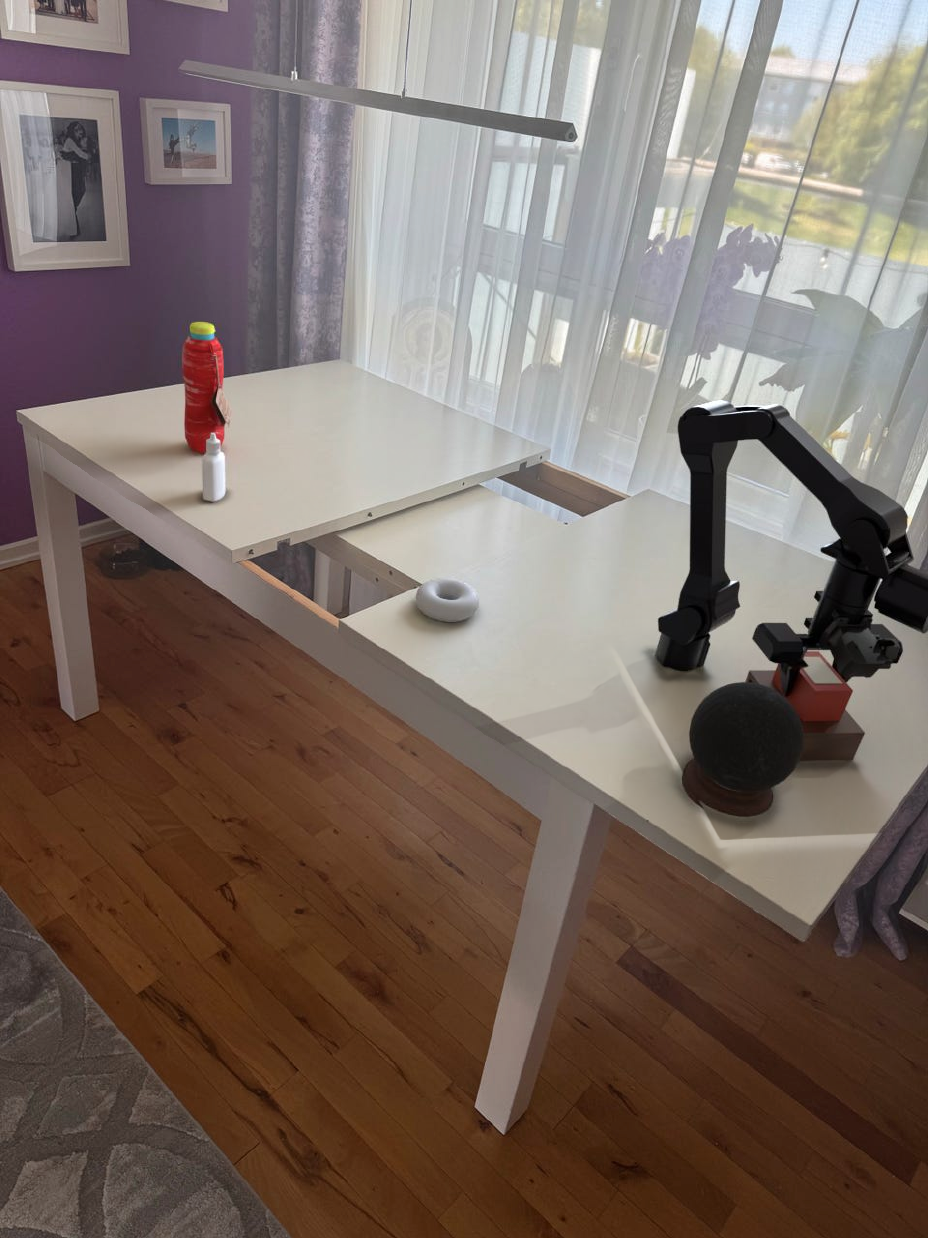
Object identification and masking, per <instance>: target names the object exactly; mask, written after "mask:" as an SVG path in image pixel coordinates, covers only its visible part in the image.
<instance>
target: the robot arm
mask: <svg viewBox="0 0 928 1238" xmlns="http://www.w3.org/2000/svg"><path fill="white" fill-rule="evenodd" d="M677 436H678V437H677V438H678V443H679V444H678V445H679V449H680V450H679V451H680V454H681V456H682V458H683V461H684V462H685V464H686V466H687V468H688V469H689V475H690V476H689V479H690V480H689V481H690V482H689V569H688V574H687V576H686V578H685V580H684V583H683V585H682V588H681V590H680V592H679V595H678V603H677V607H676V608H675V609H673V610H671V611H669V612H667V613H665V614H663V615H661V616H660V617H658V618H657V626H658V627H657V629H658V632H659V633H660V636H659V638H658V639H659V640H658V643H657V647H656V649H655V654H654V655H655V657H656V659H657V660H658V662H659V664H660V666H661V667H662V668H669V669H671V670H674V671H678V672H684V673H685V672H691V671H694V670H695V669H697V668H701V667H703V666H704V665H705V663H706V660H707V656H708V654H709V651H710V647H711V642H710V639H711V634H710V633H711V632H713V631H714V630H716V629H718V628H720V627H722V626H723V625H725V624H727V623H728V622H729V621H731V620H732V619H733V618H734V617H735V615H736V611H737V610H738V609H739V608H741V604H740V601H739V593H740V586H741V583H740V581H739V580H731V579H730V577H729V574H728V573H727V571H726V525H727V524H726V523H727V484H728V483H727V482H728V481H727V480H728V479H727V478H728V468H729V465H730V463H731V461H732V459H733V456H734V455H735V452H736V450H737V448H738V443H739V441H740V442H741V441H750V440H751V441H752V440H753V441H754V440H755V441H756V440H757V441H758V442H760V443H761V444H762V445H763V446H764V447H765V448H766V449H767V450H768V451H769V452H770V453H771V454H772V455H773V456H774V457H775V458H776V459H777V460H778V461H779V462H780V464H782V465H783V466H784V467H785V468H786V469H787V470H788V471H789V472H790V474H792V475H793V476H794V478H796V479H797V480H798V481H799V483H801V484H802V485H803V487H805V488H806V489H807V490H808V492H810V493H811V494H812V495H813V496H814V497H815V498H816V499H817V500H818V502H820V504H821V505H822V506H823V508H824V509H825V511H826V513H827V517H828V520H829V522H830V525H831V527H832V528H833V530H834V531H835V533H836V534H837V535H838V537H839V538H837V539H836V540H833V541H831V542H829V543H827V544H825V545H823V546H822V547H820V553H821V554H824V555H826V556H828V557H830V558H833V559H834V562H833V565H832V568H831V570H830V573H829V574H828V578H827V580H826V583H825V585H824V588H823V590H815V593H814V596H813V599H815V601H816V602H817V603H818V604H817V606H816V608H815V611H814V614H813V616H812V617H805V619H804V622H803V626H805V628H806V629H807V633H796V632H795V631H794V630H793V628H791V626H790V625H789V624H788V623H787V622H761V623H759V624H757V626H756V627H755V629H754V632H753V635H752V637H751V640H752V641H753V642H754V643H755V644H756V646H757V647H758V648H759V650H760V651H761V653H763V655H764V656H765V657H766V659H767V660H768V661H769V662H771V663H773V664H777V665H779V673H780V681H781V689H782V693H783V695H784V696H785V697H788V696H789V694H790V693H791V691H792V689H793V686H794V684H795V682H796V679H797V677H798V674H799V672H800V670H801V669H803V668H805V667H808V666H809V665H808V664H807V663H806V662H805V661H804V659H803V658H804V656H805V653H806V652H807V651H830V653H831V655H832V658H833V659H832V663H831V666H832V667H833V668H834V669H835V670H836V672H837V673H838V674H839V675H840V676H841V677H842V678H843V680H844V681H845V682H846V683H847V684H848V682H849V681H850V680H851V679H852V678H865V679H867V678H868V679H870V678H872V677H873V676H874V675H875V674H876V673H877V672H878V671H879V670H890V669H891V668H892V665H894V664H898V663H899V661H900V659H901V657H902V655H903V652H904V647H903V643H902V641H901V640H899V638H898V637H897V636H895V635H894V633H893V632H891V631H890V630H889V629H888V628H887V627H886V626H885V625H884V624H883V623H873V621H874V620H873V618H874V614H873V613H872V612H871V611H870V610H869V607H870V605H871V602H872V600H873V601H874V602H873V603H874V606H873V607H874V609H876V610H877V612H878V614H881V615H883V616H885V617H887V618H889V619H891V620H893V621H896V622H898V623H899V624H901V625H905V626H906V627H908V628H911V629H912V630H915V631H917V632H919V633H922V634H923V635H924V634H926V633H927V632H928V572H926V571H923V570H921V569H919V568H917V567H914V566H912V565H909V564H911V563H912V562H914V561H915V557H914V553H913V551H912V548H911V544H910V540H909V537H908V534H907V529H908V520H909V516H908V513H907V511H906V510H905V508H904V507H903V506H902V505H901V504H900V503H898V502H897V501H896V500H894V499H893V498H891V497H890V496H888V495H887V494H885V492H883V491H881V490H879V489H878V488H876V487H873V486H870V485H869V484H866V483H864V482H862V481H860V480H858V479H857V478H855V477H854V476H853V475H851V473H850V472H848V470H846V468H844V467H843V465H841V463H839V462H838V461H837V460H836V459H835V458H834V457H833V456H832V455H831V454H830V452H828V451H827V450H826V448H824V447H823V446H822V445H821V444H820V443H819V442H818V441H817V440H815V438H814V437H813V436H812V435H811V434H810V433H808V431H806V429H804V428H803V427H802V426H801V425H800V424H799V423H798V422H797V421H796V420H795V419H794V418H793V417H792V416H791V413H790V411H789V410H788V408H786V407H784V406H783V405H781V404H777V403H776V404H775V403H774V404H770V405H741V406H734V405H733V404H732V403H730V402H729V401H727V400H722V399H721V400H716V401H715V400H714V401H711V402H707V403H704V404H700V405H695V406H692V407H690V408H688V409H686V410H685V411H684V412H683V414H682V415H680V416H679V418H678V421H677ZM885 549H888V550H889V553H888V554H886V553H885Z"/></svg>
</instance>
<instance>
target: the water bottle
mask: <svg viewBox="0 0 928 1238" xmlns="http://www.w3.org/2000/svg"><path fill="white" fill-rule="evenodd" d="M215 332H216V328H215V326H214V325H213V323H210V322H206V321H195V322H191V323H190V324H189V333H190V334H189V335H188V336H187V338H186V340H184V343H183V345H182V354H181V365H182V366H181V368H182V369H181V370H182V379H183V385H184V422H183V423H184V424H183V427H184V438H185V440H186V443H187V445H188V447H189V448H190V450H191V451H192V452H195V453H198V454H204V455H205V453H206V440H207V439H210V436H211V433H215V435H216V439H218V440H220V449H221V448H222V445H223V443H224V440H225V427H226V425H227V427H228V428H230V426H231V425H230V424H231V420H232V419H231V418H232V412H233V411H232V408H231V406H230V404H229V402H228V400H227V398H226V395H225V393H224V391H223V387H224V375H225V370H224V369H225V368H224V360H225V359H224V352H223V347H222V345H221V343H220V342H219V340H218V337H216V336H215Z"/></svg>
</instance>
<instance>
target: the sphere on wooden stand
mask: <svg viewBox="0 0 928 1238" xmlns="http://www.w3.org/2000/svg"><path fill="white" fill-rule="evenodd" d="M688 736H689V746H690V750H691V753H692V756H693V758H692V759H690V760H689V761H688V762H687V763H686V764H685V767H684V768H683V772H682V774H681V783H682V787H683V789H684V791H685V793H686V795H687V796H688V797H689V798H690V799H691V800H692V802H694V803H695V804H696V805H697V806H699V808H701V809H704V807H703V805H705V806H707V807H709V808H710V809H712V810H714V811H717V812H719V813H721V814H724V815H729V816H733V817H738V818H739V817H741V818H751V817H756V816H759V815H762V814H764V813H766V812H767V811H768V810H769V809H770V808H771V807H772V805H773V803H774V793H773V788H774V787H776V786H777V785H780V784H782V783H783V782H784V781H785V780H786V779H788V778H789V776H791V774H793V772H794V771H795V769H796V768H797V766H798V764H799V762H800V761H799V760H800V757H801V754H802V751H803V741H804V732H803V728H802V724H801V721H800V718H799V716H798V714H797V712H796V711H795V709H794V707H793V706H792V705H791V704H790V703H789V701H788V700H787V699H786V698H784V697H783V696H782V695H781V694H780V693H778V692H777V691H775V690H773V689H772V688H769V687H767V686H764V685H761V684H757V683H750V682H745V681H740V682H732V683H727V684H725V685H722V686H720V687H718V688H715V689H714V690H713V691H712V692H710V693H708V695H706V696H705V697H704V698H703V699H702V700H701V702H700V703H699V704H698V706H697V707H696V709H695V711H694V713H693V714H692V717H691V720H690V726H689V732H688ZM702 804H703V805H702Z"/></svg>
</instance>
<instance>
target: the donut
mask: <svg viewBox="0 0 928 1238" xmlns="http://www.w3.org/2000/svg"><path fill="white" fill-rule="evenodd" d="M414 598H415V603H416V606H417V608H418V609H419V610H420V611H421V612H422V613H423V614H424V615H425V616H427V617H429V618H430V619H434V620H435V621H440V622H447V623H454V622H455V623H456V622H457V623H458V622H462V621H465V620H467V619H469V618H472V617H473V615H474V614H475V613H476V612H477V611H478V609H479V606H480V598H479V595H478V593H477V591H476V590H475V589H474V588H473V587H472V586H471V585H469V584H467V583H465V582H464V581H461V580H457V579H455V578H454V579H453V578H446V577H444V578H442V577H441V578H433V579H430V580H428V581H425V582H423V583H422V584H421V585H420V586H419V587H418V588H417V589H416V593H415V597H414Z"/></svg>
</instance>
